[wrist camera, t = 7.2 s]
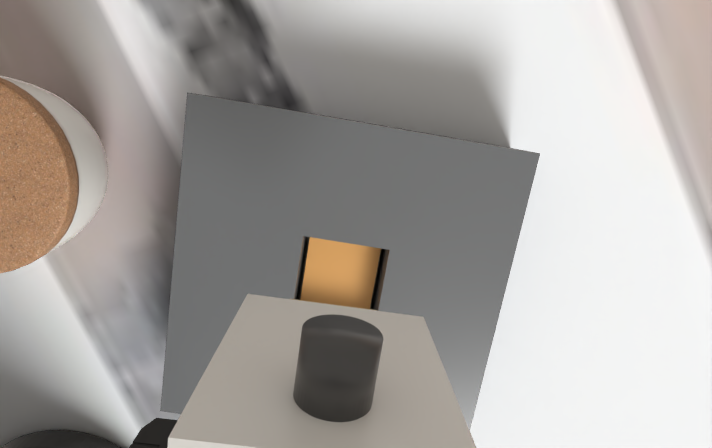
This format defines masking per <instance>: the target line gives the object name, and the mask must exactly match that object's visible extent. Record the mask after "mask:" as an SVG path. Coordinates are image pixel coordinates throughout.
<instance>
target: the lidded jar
mask: <svg viewBox="0 0 712 448" xmlns="http://www.w3.org/2000/svg"><path fill="white" fill-rule="evenodd" d="M107 184H108V163H107V157H106V154H105V151H104V148H103V145H102V142H101V140H100V138H99V137H98V135H97V133H96V131H95V130H94V128H93V127H92V126H91V124H90V123H89V122H88V121H87V119H86V118H85V117H84V116H83V115H82V114H81V113H80V112H79V111H78V110H76V109H75V108H74V107H73V106H72V105H70V104H69V103H68V102H67V101H65V100H64V99H62V98H60V97H59V96H57V95H55V94H54V93H51V92H49V91H47V90H45V89H43V88H40V87H38V86H36V85H33V84H31V83H27V82H24V81H21V80H17V79H13V78H10V77H6V76H0V273H4V272H8V271H12V270H15V269H18V268H20V267H23V266H25V265H28V264H30V263H32V262H34V261H35V260H37V259H39V258H40V257H42V256H44V255H45V254H47V253H49V252H51V251H52V250H54V249H56V248H58V247H60V246H61V245H63V244H64V243H66V242H68V241H69V240H70V239H72V238H73V237H75V236H76V235H77V234H78V233H79V232H80V231H81V230H83V229H84V228H85V227H86V226H87V225H88V224H89V222H90V221H91V220H92V219H93V217H94V216H95V215H96V213H97V212H98V210H99V208H100V206H101V204H102V202H103V199H104V196H105V193H106V190H107Z"/></svg>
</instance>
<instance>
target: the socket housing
mask: <svg viewBox="0 0 712 448" xmlns="http://www.w3.org/2000/svg"><path fill="white" fill-rule="evenodd" d="M539 156H540V153H535V152H529V151H524V150H519V149H513V148H508V147H502V146H496V145H490V144H485V143H479V142H473V141H467V140H461V139H456V138H450V137H444V136H438V135H432V134H427V133H421V132H415V131H409V130H404V129H398V128H392V127H386V126H380V125H375V124H369V123H363V122H357V121H351V120H346V119H340V118H334V117H328V116H322V115H317V114H311V113H305V112H299V111H293V110H288V109H282V108H276V107H270V106H264V105H259V104H253V103H247V102H241V101H236V100H230V99H224V98H218V97H212V96H206V95H199V94H193V93H187V104H186V116H185V128H184V139H183V151H182V163H181V175H180V186H179V198H178V210H177V222H176V233H175V245H174V257H173V269H172V280H171V292H170V304H169V316H168V328H167V339H166V351H165V363H164V375H163V386H162V398H161V410H160V411H164V412H171V413H178V414H182V412H183V410H184V408H185V406H186V404H187V403H188V401H189V399H190V397H191V395H192V394H193V392H194V390H195V388H196V386H197V385H198V383H199V381H200V379H201V377H202V376H203V374H204V372H205V370H206V368H207V366H208V365H209V363H210V361H211V359H212V357H213V356H214V354H215V352H216V350H217V348H218V347H219V345H220V343H221V341H222V339H223V337H224V336H225V334H226V332H227V330H228V328H229V327H230V325H231V323H232V321H233V319H234V318H235V316H236V314H237V312H238V310H239V308H240V307H241V305H242V303H243V301H244V299H245V298H246V296H247V294H253V295H261V296H269V297H276V298H284V299H296V300H300V298H301V292H302V285H303V279H304V272H305V265H306V259H307V252H308V245H309V239H310V237H312V238H319V239H325V240H331V241H337V242H344V243H350V244H356V245H362V246H369V247H375V248H381V252H380V257H379V262H378V268H377V273H376V278H375V284H374V289H373V294H372V300H371V305H370V309H373V310H376V311H383V312H391V313H398V314H406V315H414V316H421V317H424V320H425V322H426V324H427V327H428V329H429V332H430V334H431V337H432V339H433V342H434V344H435V347H436V349H437V352H438V354H439V357H440V359H441V362H442V364H443V367H444V369H445V372H446V374H447V377H448V379H449V381H450V384H451V386H452V389H453V391H454V394H455V396H456V399H457V401H458V404H459V406H460V409H461V411H462V414H463V416H464V419H465V421H466V424H467V426H468V429H469V431H470V427H471V423H472V419H473V415H474V411H475V407H476V404H477V400H478V396H479V392H480V388H481V384H482V380H483V376H484V372H485V368H486V364H487V360H488V356H489V352H490V348H491V345H492V341H493V337H494V333H495V329H496V325H497V321H498V317H499V313H500V309H501V305H502V301H503V297H504V293H505V289H506V285H507V282H508V278H509V274H510V270H511V266H512V262H513V258H514V254H515V250H516V246H517V242H518V238H519V234H520V230H521V226H522V223H523V219H524V215H525V211H526V207H527V203H528V199H529V195H530V191H531V187H532V183H533V179H534V175H535V171H536V167H537V163H538V160H539Z"/></svg>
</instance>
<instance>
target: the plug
mask: <svg viewBox="0 0 712 448" xmlns="http://www.w3.org/2000/svg"><path fill="white" fill-rule="evenodd" d="M168 448H476V446H475V443H474V441H473V438H472V436H471V433H470V431H469V429H468V426H467V424H466V421H465V419H464V416H463V414H462V411H461V409H460V406H459V404H458V401H457V399H456V396H455V394H454V391H453V389H452V386H451V384H450V381H449V379H448V377H447V374H446V372H445V369H444V367H443V364H442V362H441V359H440V357H439V354H438V352H437V349H436V347H435V344H434V342H433V339H432V337H431V334H430V332H429V329H428V327H427V324H426V322H425V320H424V317H421V316H414V315H406V314H398V313H391V312H383V311H376V310H373V309H365V308H357V307H350V306H342V305H335V304H327V303H319V302H312V301H304V300H296V299H284V298H276V297H269V296H261V295H253V294H247V296H246V298H245V299H244V301H243V303H242V305H241V307H240V308H239V310H238V312H237V314H236V316H235V318H234V319H233V321H232V323H231V325H230V327H229V328H228V330H227V332H226V334H225V336H224V337H223V339H222V341H221V343H220V345H219V347H218V348H217V350H216V352H215V354H214V356H213V357H212V359H211V361H210V363H209V365H208V366H207V368H206V370H205V372H204V374H203V376H202V377H201V379H200V381H199V383H198V385H197V386H196V388H195V390H194V392H193V394H192V395H191V397H190V399H189V401H188V403H187V404H186V406H185V408H184V410H183V412H182V414H181V415H180V417H179V419H178V421H177V423H176V424H175V426H174V428H173V430H172V432H171V433H170V435H169V437H168Z"/></svg>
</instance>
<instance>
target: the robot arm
mask: <svg viewBox="0 0 712 448" xmlns="http://www.w3.org/2000/svg"><path fill="white" fill-rule="evenodd" d="M177 421H178V420H170V419H161V418H156V419H154V420H153V421H151V422H150V423H149V424H147V425H146V426H145V427H143V428H142V429H141V430H140V432H139V433H138V435H137V436H136V438H135V439H134V441H133V444H132V445H131V446H130V447H129V448H168V437H169V435H170V433H171V432H172V430H173V428H174V426H175V424H176V423H177ZM2 448H120V447H119V446H117V445H115V444H113V443H111V442H109V441H107V440H104V439H102V438H99V437H97V436H93V435H90V434H86V433H82V432H76V431H67V430H50V431H42V432H36V433H32V434H28V435H25V436H22V437H20V438H17V439H15V440H13V441H11V442H9V443H8V444H6V445H5V446H3V447H2Z"/></svg>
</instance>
